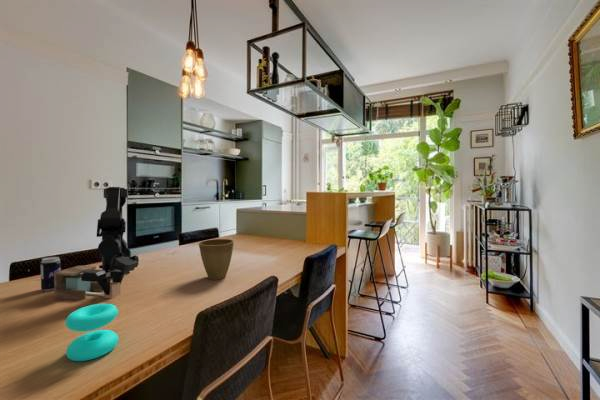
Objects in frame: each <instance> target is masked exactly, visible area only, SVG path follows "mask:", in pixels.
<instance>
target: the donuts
mask: <svg viewBox="0 0 600 400" xmlns="http://www.w3.org/2000/svg"><path fill="white" fill-rule="evenodd" d="M118 313H119V309H118V307H117V306H116V305H114V304H111V303H95V304H90V305H87V306H82V307H81V308H78V309H76V310H74V311H73V312H71V313H70V314H69V315H68V316H67V317H66V319H65V327H66V328H68V329H69V330H71V331H73V332H86V333H84V334H81V335H80V336H78V337H76V338H75V339H73V340H72V341H71V342H70V343H69V345H68V346H67V347H66V351H65V355H66V357H67V358H68V359H69V360H70V361H74V362H87V361H90V360H94V359H97V358H100V357H102V356H104V355H106V354H108V353H110V352H111V351H113V349H114V348H115V347H116V346H117V344H118V343H119V335H118V334H117V333H116V332H115V331H113V330H109V329H100V328H103V327H105V326H108V325H109V324H110V323H112V322H113V320H115V319H116V317H117V316H118ZM97 329H98V330H97Z"/></svg>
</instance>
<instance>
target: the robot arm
mask: <svg viewBox="0 0 600 400" xmlns="http://www.w3.org/2000/svg"><path fill="white" fill-rule="evenodd" d="M103 198H104V199H105V202H106V207H105V210H104V211H103V212H101V214H100V216H99V217H100V218H99V219H97V226H96V237H97V238H101V241H100V242H99V243H98V246H97V251H98V253H99V254H98V257H99V258H101V264H100V265H98V269H93V270H89V271H86V272H84V273H81V274H82V276H81V279H82V281H90V282H98V284H99V285H100V286H101V288H102V289H103V291H102V292H103V293H104V292H105V294H106V295H109V294H110V283H111V282H119V283H120V285H121V284H122V281H123V279H124V277H125V275H128V274H130V272H131V271H134V270H135V268H137V267H138V265H140V264H139V263H140V262H139V256H138V255H136V254H135V255H132V254H131V253H132V252H131V250H130V248H129V247H128V243H127V241H126V240H125V239H124V234H125V233H126V230H127V229H126V228H127V227H126V226H127V225H126V224H127V223H126V222H127V221H126V220H125V218H124V217H123V207H124V206H125V204H126V202H127V199H128V198H129V191H128V188H125V187H120V186H109V187H106V188H103ZM131 255H132V256H131Z"/></svg>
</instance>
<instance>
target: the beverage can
mask: <svg viewBox="0 0 600 400" xmlns="http://www.w3.org/2000/svg"><path fill="white" fill-rule="evenodd" d="M61 262H62V261H61V259H60V257H59V256H50V257H48V256H47V257H43V258H41V261H40V288H41V290H43V291H44V292H50V291H54V272H57V271H61V270H62V266H61Z"/></svg>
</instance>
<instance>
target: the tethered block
mask: <svg viewBox="0 0 600 400" xmlns="http://www.w3.org/2000/svg"><path fill="white" fill-rule="evenodd" d="M82 274H83V273H81V274H78V275H75V276H70V277H67V278H66V289H75V290H86V295H87V296H99V297H103V299H104V298H105V299H113V298H116V297H118V296H120V295H121V284H120V283H119V282H113V281H110V294H109V295H106V294H105V292H104V291H103V292H95V291H94V292H91V291H92V290H91V289H90V281H82V279H81V276H82Z"/></svg>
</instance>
